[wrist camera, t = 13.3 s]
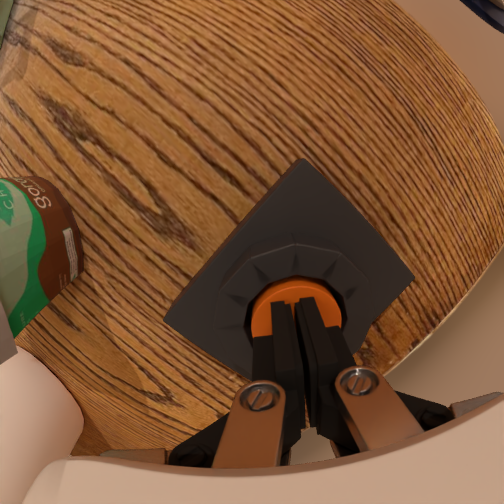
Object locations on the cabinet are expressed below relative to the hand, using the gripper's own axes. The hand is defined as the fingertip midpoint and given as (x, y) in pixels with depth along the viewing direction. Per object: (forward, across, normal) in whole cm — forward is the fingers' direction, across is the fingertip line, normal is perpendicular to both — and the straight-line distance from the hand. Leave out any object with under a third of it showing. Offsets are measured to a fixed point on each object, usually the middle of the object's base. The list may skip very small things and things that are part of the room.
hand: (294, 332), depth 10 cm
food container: (+4, +15, -7) cm, 17 cm away
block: (+4, 0, 0) cm, 4 cm away
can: (+5, +26, +10) cm, 28 cm away
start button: (+2, 0, 0) cm, 2 cm away
